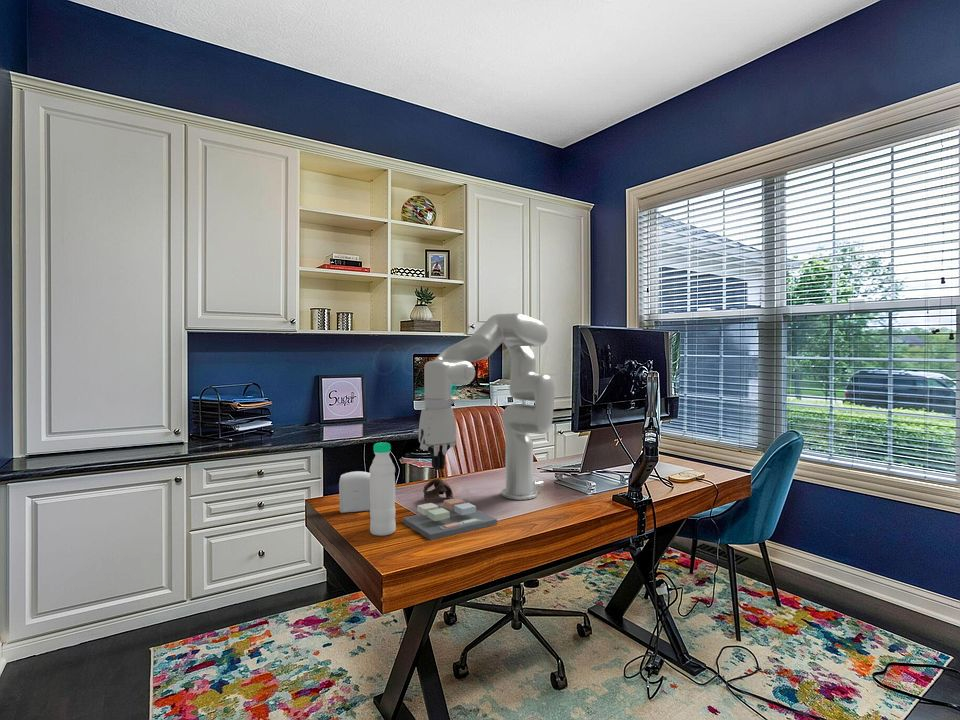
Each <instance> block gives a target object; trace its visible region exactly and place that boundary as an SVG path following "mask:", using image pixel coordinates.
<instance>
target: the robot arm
mask: <svg viewBox="0 0 960 720" xmlns="http://www.w3.org/2000/svg"><path fill="white" fill-rule="evenodd" d="M548 333H549V332H548V328H547V326H546V324H544V322H542V321H541V320H540V319H536V318H533V317H531V316H528V315H526V314H522V313H518V312H517V313H498V314H497V313H496V314H493V315H492V316H490V317H489V318H488V319H487V320H486V321H485V322H483V324H482V325H481V326H479V328H478V329H477V330H476V331H474V333H473V334H472V335H471V336H469V337H466V338H464V339H461V341H458V342H456V343H454V344H452V345H450V346H449V347H446V349H444V350H443V351H441V352H440V353H439V354H438V355H437V356H436V357H435V358H434V360H430V361H426V362H425V364H424V371H423V374H424V377H423V378H424V380H423V381H424V409H421V412H420V417H419V424H418V425H419V427H418V442H419V444H420V446H419V449H420V450H423V451H427V452H428V453H429V455H431V467H432V469H434V470H437V471H439V470H445V464H446V462H445V460H446V459H445V457H446V455H447V453H448V451H449V449H450V448H453V447H455V446H456V445H457V444H456V438H457V429H456V428H457V427H456V417H455V412H454V408H452V405H453V404H455V399H452V386H465V385H469V384H471V382H473V380H474V379H475V377H476V370H475V367H474V365H473V364H472V362H478V361H481V360H483V359H487V358H489V357H490V356H491V355H492V354H493V353H494V352H495V351H496V350H497V348H499V346H500V345H501V344H504V345H505V347H506V349H507V350H508V352H509V355H510V357H511V358H510V360H511V365H510V366H511V367H510V379H509V395H510V396H511V398H513V399H515V400H518V401H526V402H534V404H533V405H532V404H525V403H524V404H523V403H522V404H521V403H513V404H509V405H508V406H507V405H506V407H505V409H503V413H502V425H503V429H504V438H505V439H504V440H505V488H504V489H501V491H500V494H501V496H502V498H505V499H510V500H517V501H520V500H523V501H524V500H525V501H526V500H531V499H534V498H536V497H538V494H539V493H538V490H536V489H537V488H540V487H544V486H545V485H544V483H545V482H544V481H543V480H539V481H536V480H534V444H533V440H532V437H531V436H530V434H534V435H545V434H547V433H548V432H549V431H550V430H551V428H552V424H553V417H554V406H555V392H556V389H555V382H554V380H553V378H552V377H551V376H550V375H549V374H545V373H536V370H537V369H536V366H537V359H536V355H535V353H534V351H533V350H532V348H531V347H541V346H543V345H544V344H545V343H546V342H547V340H548V337H549V336H548V335H549V334H548Z"/></svg>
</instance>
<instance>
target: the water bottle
mask: <svg viewBox="0 0 960 720" xmlns="http://www.w3.org/2000/svg"><path fill="white" fill-rule="evenodd" d="M391 450H392V446H391V444H390V442H384V441H383V442H376V443H374V444H373V454H374V455H375V456H374V457H373V459H372V463H371V465H370V467H369V473H370V505H371V508H370V510H369V517H370V520H369V521H370V522H369V524H370V525H369V531H370V534H371V535H374V536H376V537H377V536H379V537H384V536H385V537H386V536H389V535H390V536H391V535H392V534H393V533H395V532H396V529H397V527H396V526H397V525H396V505H395V504H396V477H395V473H396V467H395V464H394V463H393V460H392V458H391V455H390V453H391Z"/></svg>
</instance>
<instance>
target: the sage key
mask: <svg viewBox="0 0 960 720" xmlns="http://www.w3.org/2000/svg"><path fill="white" fill-rule="evenodd" d="M445 509H446V508H443V507H439V509H434V510H429V511H427V517H428V518H430V519H432V520H434V521H438V520H443V519H448V518H450V512H449V511H447V510H445Z"/></svg>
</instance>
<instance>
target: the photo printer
mask: <svg viewBox="0 0 960 720" xmlns="http://www.w3.org/2000/svg"><path fill="white" fill-rule="evenodd" d="M338 491H339V493H338V494H339V495H338V497H339V512H340V513H341V514H342V513H343V514H345V513H355V512H364V511H370V508H371V505H370V472H367V471H362V470H361V471H360V470H359V471H358V470H355V471H350V472H345V473H342V474H341V475H340V477H339V483H338Z"/></svg>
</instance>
